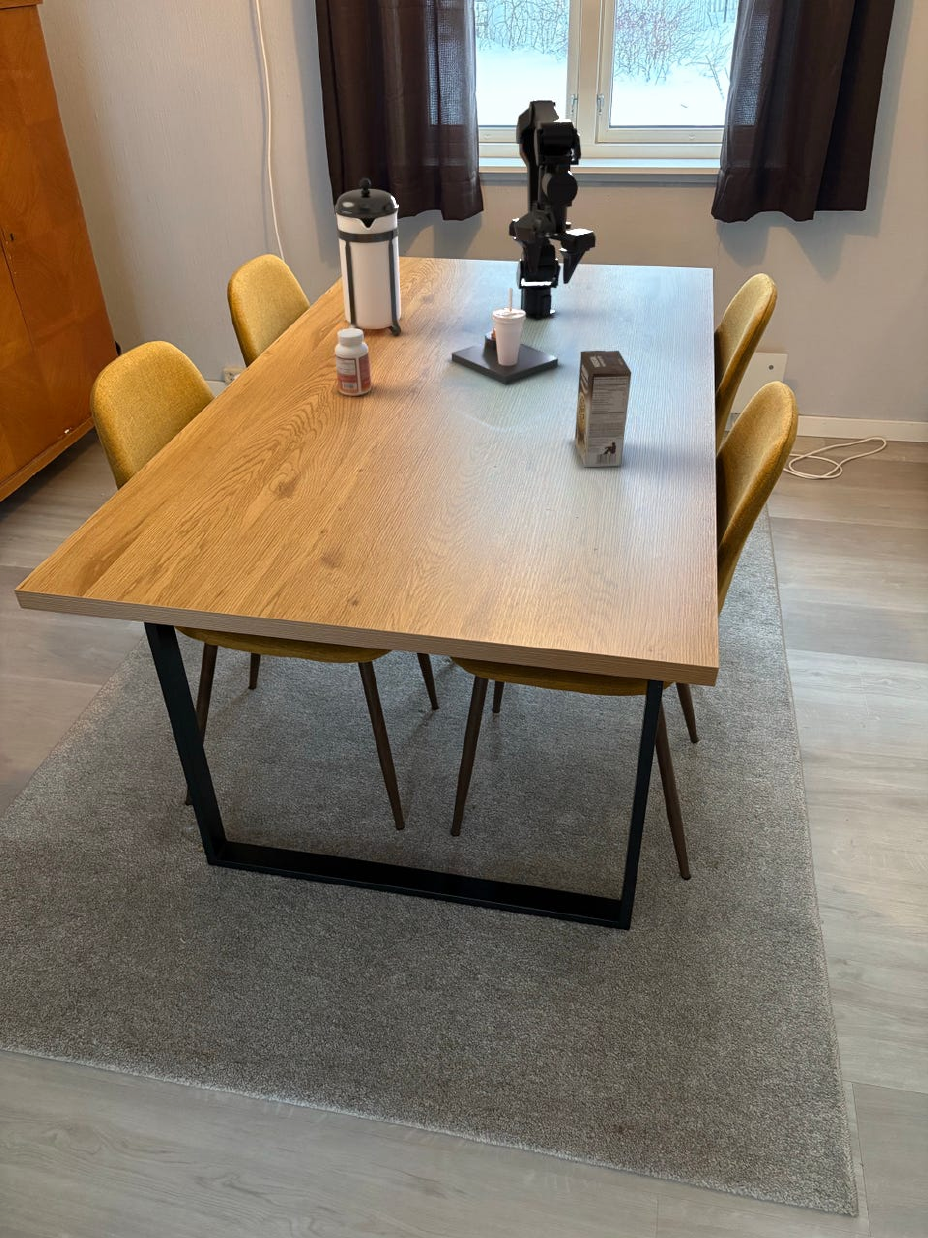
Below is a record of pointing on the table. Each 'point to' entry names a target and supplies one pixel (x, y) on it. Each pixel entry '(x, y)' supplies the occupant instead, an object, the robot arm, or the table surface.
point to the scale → (487, 364)
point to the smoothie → (508, 332)
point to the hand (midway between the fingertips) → (549, 278)
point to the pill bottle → (352, 363)
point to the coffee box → (602, 408)
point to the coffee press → (369, 258)
